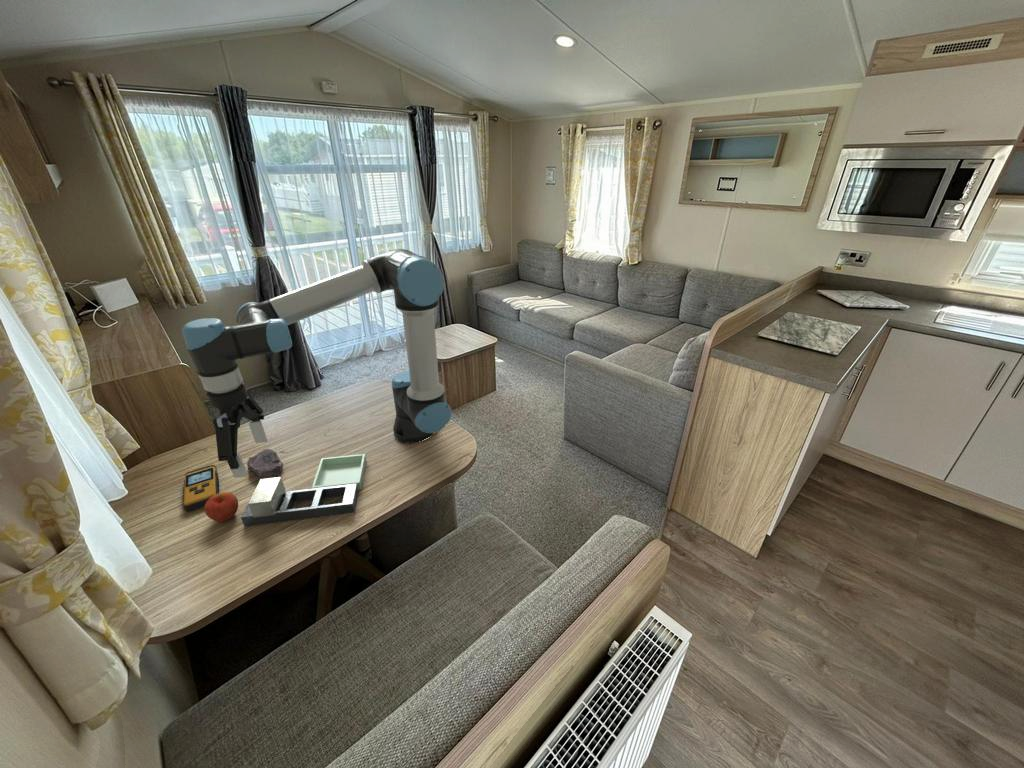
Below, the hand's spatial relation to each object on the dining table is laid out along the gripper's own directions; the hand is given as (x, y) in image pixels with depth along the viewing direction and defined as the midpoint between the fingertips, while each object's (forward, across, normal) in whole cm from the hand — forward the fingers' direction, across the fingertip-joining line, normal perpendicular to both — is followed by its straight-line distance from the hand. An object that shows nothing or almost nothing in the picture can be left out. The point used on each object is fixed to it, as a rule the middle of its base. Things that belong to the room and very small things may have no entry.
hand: (252, 458), depth 102 cm
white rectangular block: (+19, +1, +1) cm, 19 cm away
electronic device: (+20, -12, -22) cm, 32 cm away
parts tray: (+19, -11, +16) cm, 27 cm away
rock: (+19, -19, -8) cm, 28 cm away
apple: (+19, 0, -11) cm, 22 cm away
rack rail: (+19, 0, +9) cm, 21 cm away
